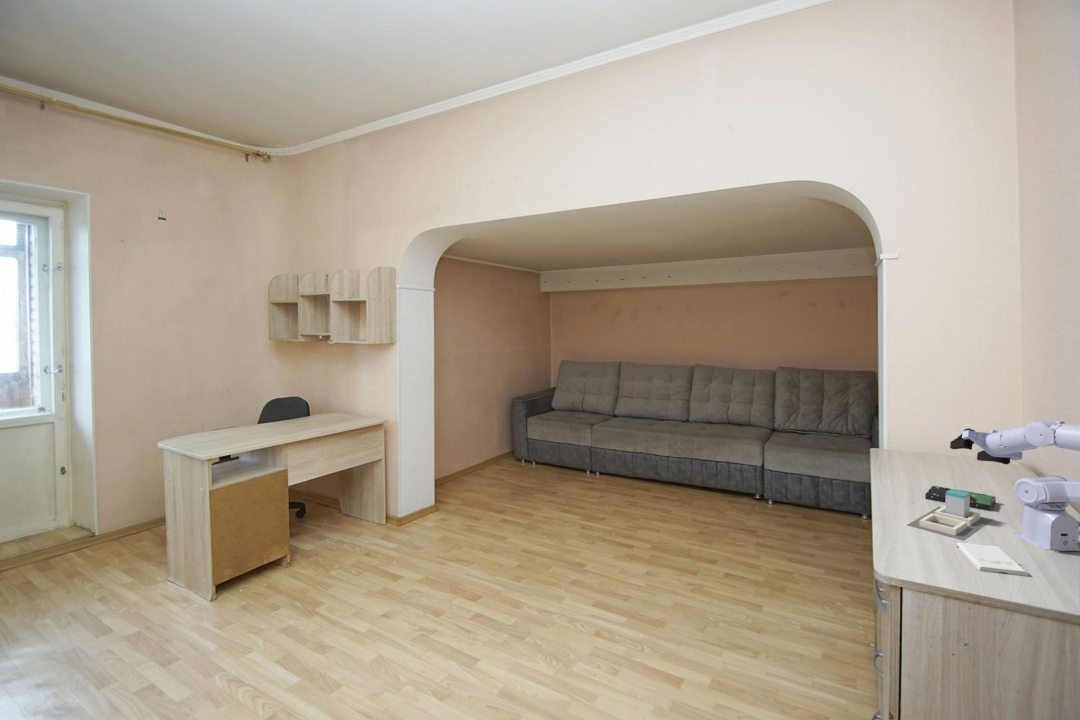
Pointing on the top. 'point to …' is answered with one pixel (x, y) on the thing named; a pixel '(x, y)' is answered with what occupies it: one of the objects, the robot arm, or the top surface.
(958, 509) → the plug
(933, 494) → the disk drive
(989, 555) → the external hard drive
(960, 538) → the mat
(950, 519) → the frame
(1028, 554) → the top surface
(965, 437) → the robot arm
